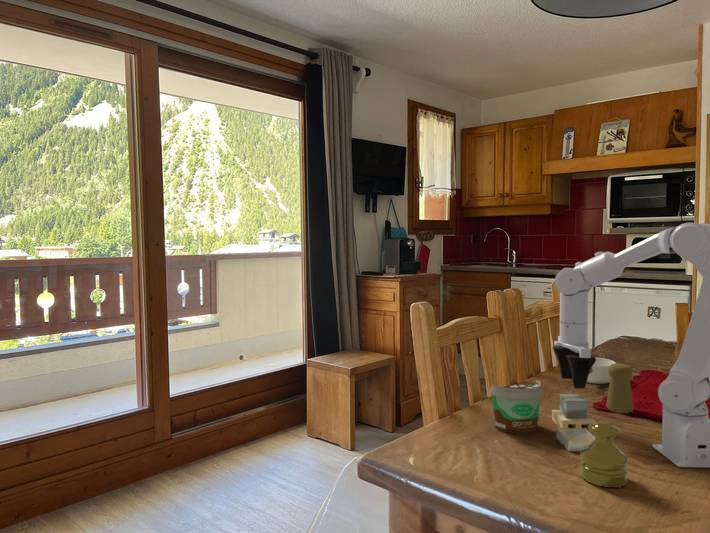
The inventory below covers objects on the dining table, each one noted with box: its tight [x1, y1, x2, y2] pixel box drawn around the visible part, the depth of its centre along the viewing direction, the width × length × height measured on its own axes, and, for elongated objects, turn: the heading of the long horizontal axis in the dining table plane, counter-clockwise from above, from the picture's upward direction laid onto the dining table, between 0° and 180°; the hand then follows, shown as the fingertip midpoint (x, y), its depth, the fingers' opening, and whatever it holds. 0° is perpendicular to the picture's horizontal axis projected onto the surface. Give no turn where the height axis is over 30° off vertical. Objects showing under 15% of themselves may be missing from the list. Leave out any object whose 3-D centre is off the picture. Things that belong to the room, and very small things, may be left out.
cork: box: [605, 362, 635, 414], centre depth 124 cm, size 6×6×11 cm
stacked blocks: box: [551, 393, 596, 429], centre depth 114 cm, size 7×7×6 cm
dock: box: [555, 427, 595, 452], centre depth 104 cm, size 7×6×2 cm
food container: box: [489, 379, 545, 435], centre depth 111 cm, size 12×6×10 cm, turn 105°
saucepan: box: [587, 356, 617, 385], centre depth 147 cm, size 12×20×6 cm, turn 142°
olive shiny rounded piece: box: [579, 420, 629, 488], centre depth 88 cm, size 7×8×10 cm
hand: (573, 383), depth 114 cm, fingers open, 7 cm apart
